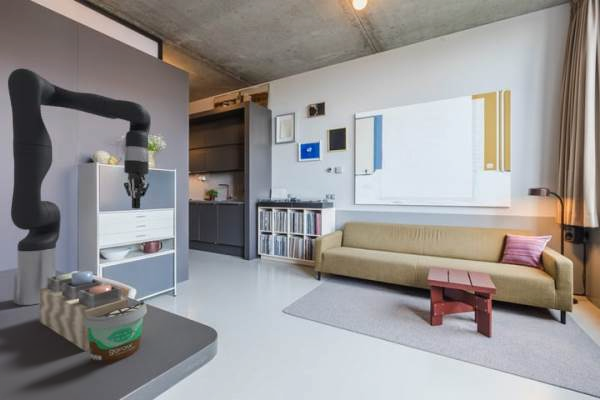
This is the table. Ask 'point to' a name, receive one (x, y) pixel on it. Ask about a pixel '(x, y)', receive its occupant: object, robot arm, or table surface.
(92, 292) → the peach rounded knob
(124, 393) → the table surface
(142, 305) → the food container
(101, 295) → the button console
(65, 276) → the sage button
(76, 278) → the slate button
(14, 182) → the robot arm
